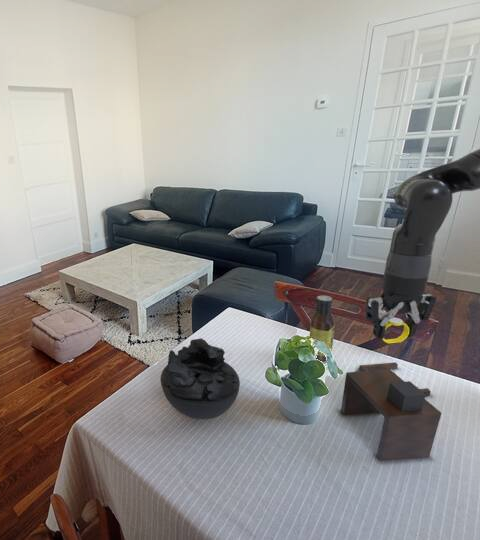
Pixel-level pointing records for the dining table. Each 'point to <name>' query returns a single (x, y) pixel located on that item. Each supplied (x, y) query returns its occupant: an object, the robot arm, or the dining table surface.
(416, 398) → the charcoal block
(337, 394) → the dining table surface
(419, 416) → the high shelf
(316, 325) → the sauce bottle
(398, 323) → the watch
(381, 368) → the low rack
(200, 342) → the bowl of black rocks
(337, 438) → the dining table surface
